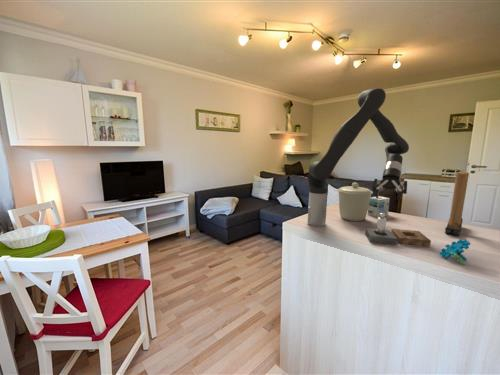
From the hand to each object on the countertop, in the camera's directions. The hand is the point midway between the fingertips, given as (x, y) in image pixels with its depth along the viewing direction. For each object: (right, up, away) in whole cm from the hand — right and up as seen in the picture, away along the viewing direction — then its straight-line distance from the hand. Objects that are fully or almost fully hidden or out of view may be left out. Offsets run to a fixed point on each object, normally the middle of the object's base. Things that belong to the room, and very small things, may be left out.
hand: (387, 198), depth 105 cm
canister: (-6, -13, +23) cm, 27 cm away
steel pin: (-7, -18, -6) cm, 20 cm away
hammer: (+35, -16, +4) cm, 39 cm away
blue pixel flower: (+10, -21, -23) cm, 33 cm away
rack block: (+5, -18, -7) cm, 20 cm away
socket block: (-7, -18, -6) cm, 20 cm away
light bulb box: (+13, -12, +30) cm, 35 cm away
